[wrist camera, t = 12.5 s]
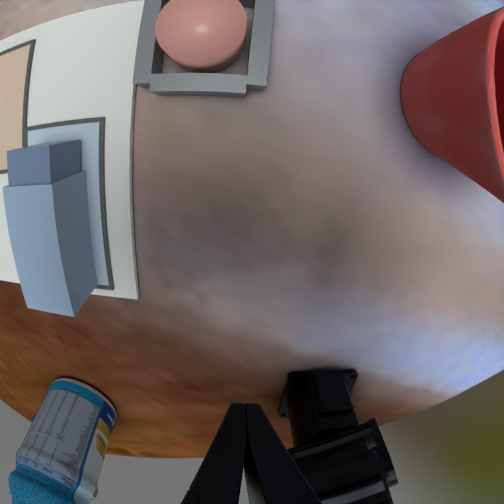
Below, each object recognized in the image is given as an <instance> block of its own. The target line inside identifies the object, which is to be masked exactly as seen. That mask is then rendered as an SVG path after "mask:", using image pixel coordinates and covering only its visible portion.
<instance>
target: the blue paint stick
mask: <svg viewBox="0 0 504 504" xmlns="http://www.w3.org/2000/svg"><path fill="white" fill-rule="evenodd" d="M7 169H8V183H9V185H7V186H4V187H3V197H4V205H5V213H6V219H7V225H8V231H9V237H10V242H11V247H12V252H13V256H14V261H15V265H16V269H17V273H18V277H19V281H20V284H21V288H22V291H23V295H24V298H25V301H26V304H27V308H31V309H35V310H40V311H45V312H50V313H56V314H61V315H67V316H72V317H75V315H76V314H77V312H78V311H79V310H80V308H81V307H82V305H83V304H84V303H85V301H86V300H87V298H88V297H89V296H90V294H91V293H92V292H93V290H94V289H95V288H96V286H97V285H98V282H97V276H96V270H95V263H94V256H93V249H92V241H91V232H90V222H89V210H88V196H87V175H86V171H80V139H79V140H68V141H59V142H50V143H42V144H36V145H31V146H27V147H22V148H18V149H14V150H10V151H7Z"/></svg>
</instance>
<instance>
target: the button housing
mask: <svg viewBox="0 0 504 504" xmlns="http://www.w3.org/2000/svg"><path fill="white" fill-rule="evenodd" d="M169 1H170V0H145V1H144V6H143V12H142V17H141V23H140V29H139V35H138V42H137V49H136V56H135V65H134V74H133V84H134V85H137V86H140V87H143V88H147V87H150V90H149V92H152V93H155V94H158V95H220V96H237V97H245V94H246V89H253V90H264V89H265V87H266V85H267V75H268V65H269V55H270V44H271V34H272V24H273V14H274V3H275V0H239V1H240V3H241V4H242V6H243V7H253V8H254V14H253V23H252V33H251V42H250V51H249V61H248V71H247V75H238V74H220V73H161V69H162V60H163V52H164V50H163V49H162V48H161V47H160V45H159V44H158V41H157V39H156V35H155V25H156V20H157V18H158V15H159V13H160V12H161V10H162V9H163V7H164V6H165V5H166V4H167V3H168V2H169Z"/></svg>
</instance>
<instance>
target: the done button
mask: <svg viewBox="0 0 504 504" xmlns="http://www.w3.org/2000/svg"><path fill="white" fill-rule="evenodd" d="M246 26H247V17H246V13H245V10H244V8H243V6H242V4H241V3H240V1H239V0H170V1H169V2H168V3H167V4H166V5H165V6H164V7H163V9H162V10H161V12H160V13H159V15H158V18H157V20H156V25H155V35H156V39H157V41H158V44H159V45H160V47H161V48H162V49H163V50H164V51H165V52H166V53H167V54H168V55H169V56H170V57H171V58H172V59H173V60H174V61H175V62H176V63H177V64H179V65H180V66H181V67H183V68H184V69H186V70H189V71H192V72H197V73H210V72H215V71H218V70H221V69H223V68H225V67H227V66H229V65H230V64H232V63H233V62H234V61H235V60H236V59H237V58H238V57H239V55H240V54H241V52H242V50H243V48H244V45H245V38H246Z"/></svg>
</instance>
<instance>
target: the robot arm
mask: <svg viewBox="0 0 504 504" xmlns="http://www.w3.org/2000/svg"><path fill="white" fill-rule="evenodd" d="M357 377H358V373H357V371H356V370H343V371H324V372H293V373H290V374H288V376H287V380H286V383H285V387H284V391H283V395H282V399H281V403H280V406H279V410H278V416H279V417H280V418H289V419H290V425H291V432H292V438H293V445H294V447H293V448H289V449H286V448H285V446H284V444H283V443H282V441H281V439H280V438H279V436H278V434H277V433H276V431H275V429H274V428H273V426H272V424H271V423H270V421H269V419H268V418H267V416H266V414H265V413H264V411H263V409H262V407H261V406H260V404H259V403H246V404H244V403H243V402H232V403H231V404H230V406H229V408H228V410H227V413H226V415H225V417H224V419H223V421H222V423H221V425H220V427H219V429H218V432H217V434H216V436H215V438H214V440H213V442H212V444H211V446H210V448H209V450H208V452H207V454H206V456H205V458H204V460H203V462H202V464H201V466H200V468H199V470H198V472H197V474H196V476H195V478H194V480H193V482H192V484H191V486H190V488H189V489H190V490H188V491H187V493H186V495H185V497H184V499H183V501H182V503H181V504H238V502H239V495H240V487H241V480H242V473H243V466H244V473H245V479H246V486H247V492H248V498H249V504H393V501H392V498H391V494H390V492H389V487H392V486H395V485H397V484H398V481H397V477H396V473H395V470H394V467H393V464H392V461H391V458H390V455H389V453H388V450H387V448H386V445H385V442H384V440H383V437H382V435H381V432H380V430H379V428H378V425H377V423H376V420H375V418H372V419H370V420H368V422H365V423H363V424H359V421H358V418H357V415H356V412H355V410H354V405H353V402H352V399H351V397H350V392H351V390H352V388H353V386H354V384H355V381H356V379H357Z"/></svg>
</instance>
